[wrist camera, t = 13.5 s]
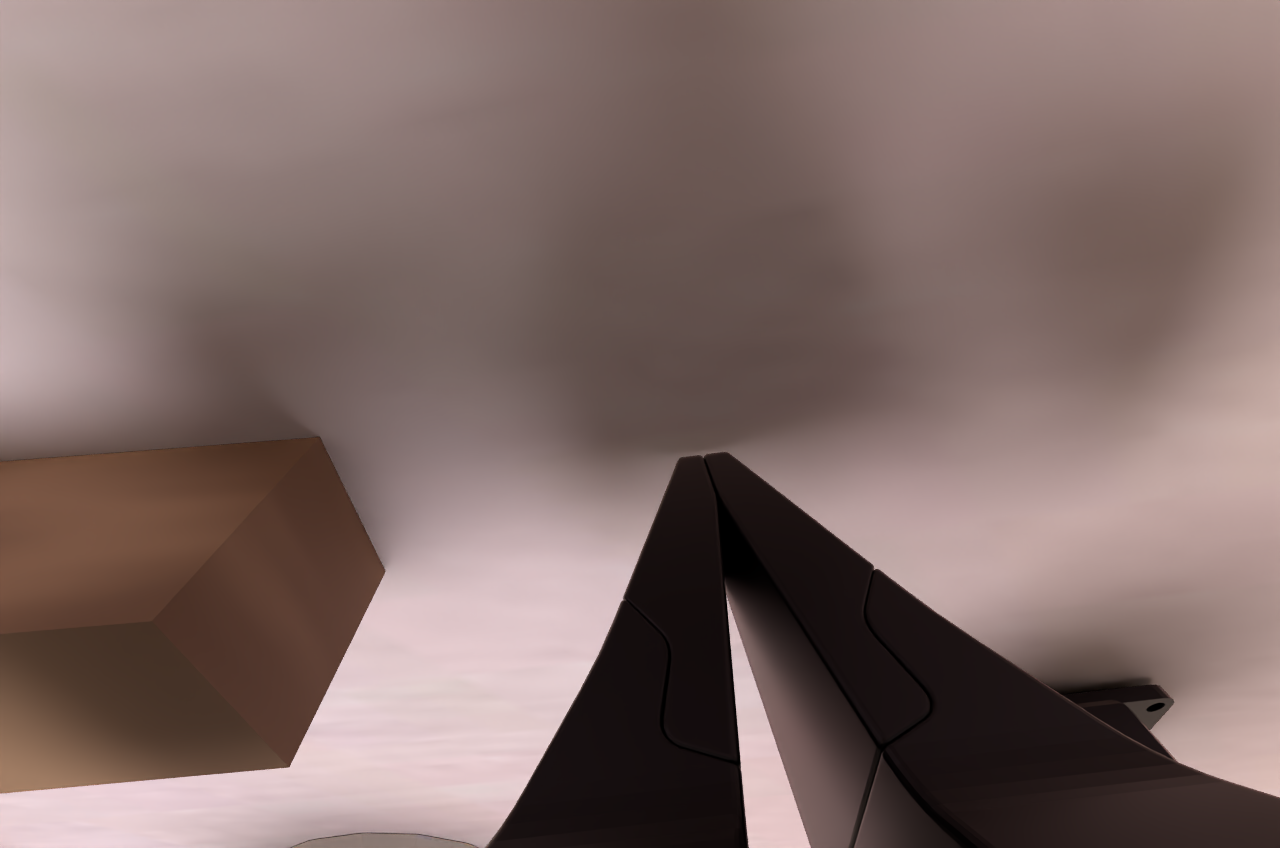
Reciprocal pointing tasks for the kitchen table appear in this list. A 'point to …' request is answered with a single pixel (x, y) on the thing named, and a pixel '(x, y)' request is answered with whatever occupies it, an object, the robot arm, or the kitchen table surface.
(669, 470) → the kitchen table surface
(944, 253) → the kitchen table surface
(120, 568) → the slat
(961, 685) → the robot arm
